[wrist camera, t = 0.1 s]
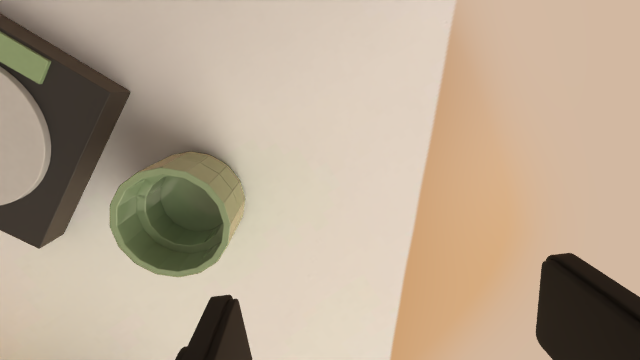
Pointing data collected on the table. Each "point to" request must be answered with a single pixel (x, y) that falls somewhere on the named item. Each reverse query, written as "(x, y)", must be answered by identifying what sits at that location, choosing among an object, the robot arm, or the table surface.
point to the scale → (48, 132)
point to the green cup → (178, 214)
